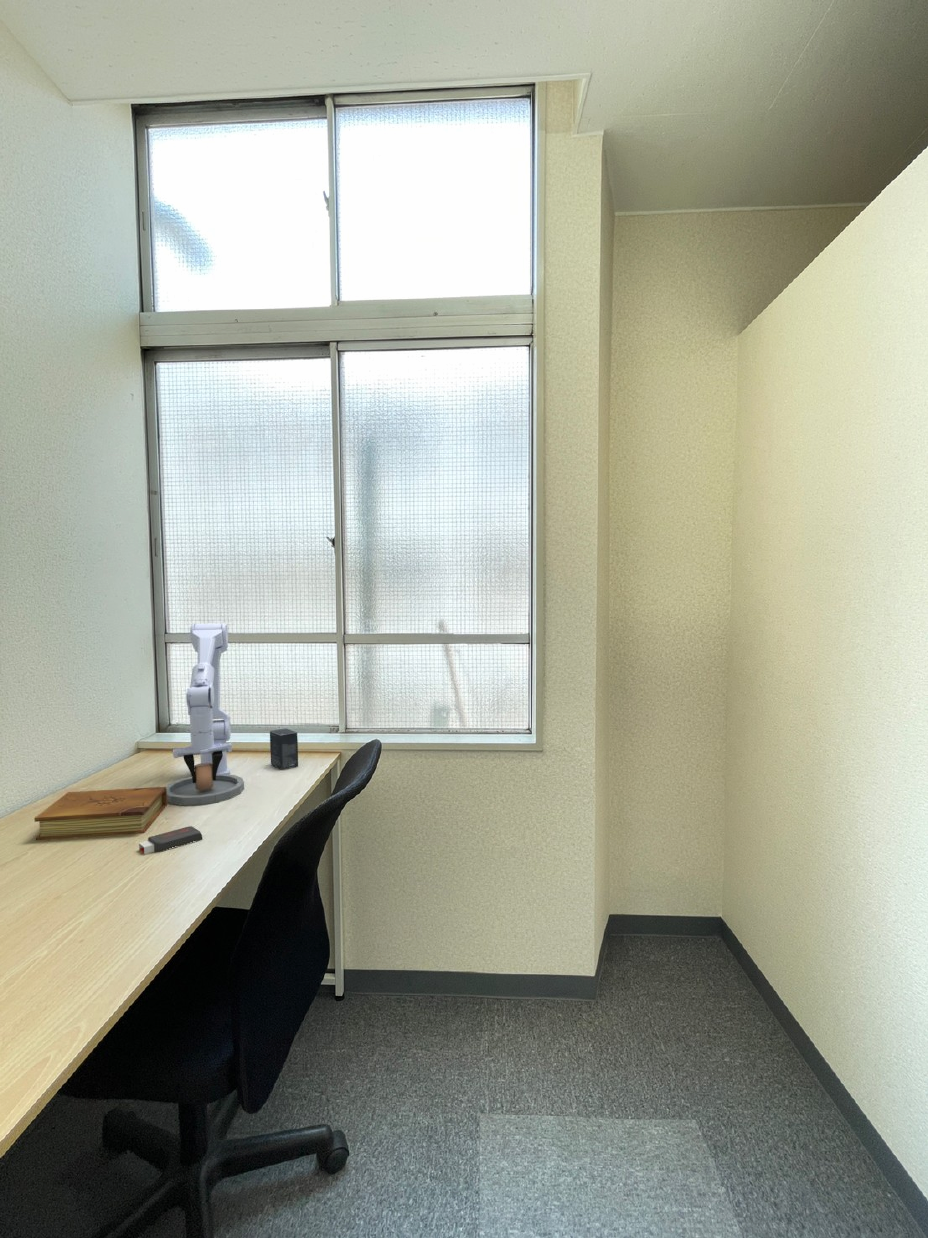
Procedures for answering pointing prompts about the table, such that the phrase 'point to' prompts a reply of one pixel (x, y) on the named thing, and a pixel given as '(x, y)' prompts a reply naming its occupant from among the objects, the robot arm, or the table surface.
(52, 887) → the table surface
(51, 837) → the diary
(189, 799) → the round tray
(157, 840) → the usb drive
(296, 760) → the box
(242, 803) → the table surface
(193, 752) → the robot arm
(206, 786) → the terracotta rounded cylinder
